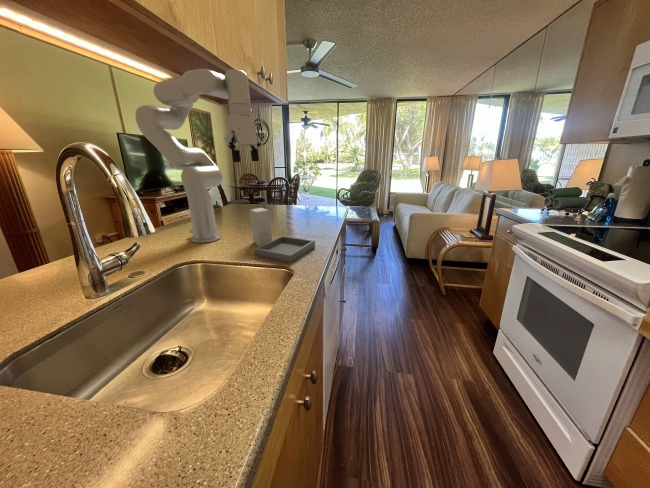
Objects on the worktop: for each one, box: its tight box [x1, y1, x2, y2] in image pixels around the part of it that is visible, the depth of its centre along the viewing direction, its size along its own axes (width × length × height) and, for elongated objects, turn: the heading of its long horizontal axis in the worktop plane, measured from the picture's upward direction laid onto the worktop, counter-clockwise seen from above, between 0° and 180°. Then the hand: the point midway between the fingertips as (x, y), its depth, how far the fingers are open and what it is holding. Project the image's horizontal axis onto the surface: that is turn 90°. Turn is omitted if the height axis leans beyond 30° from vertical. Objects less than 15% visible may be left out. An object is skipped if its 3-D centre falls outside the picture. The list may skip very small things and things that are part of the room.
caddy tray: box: [254, 235, 316, 265], centre depth 103 cm, size 16×18×3 cm
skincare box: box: [249, 207, 273, 247], centre depth 111 cm, size 8×6×15 cm
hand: (246, 161), depth 99 cm, fingers open, 9 cm apart
